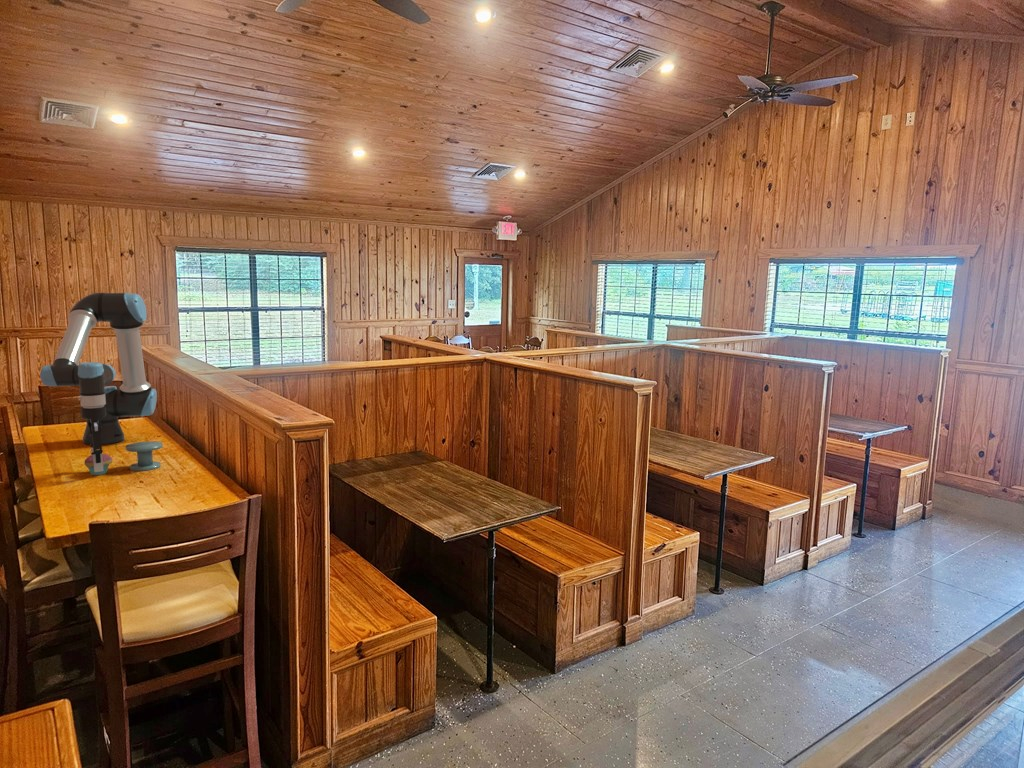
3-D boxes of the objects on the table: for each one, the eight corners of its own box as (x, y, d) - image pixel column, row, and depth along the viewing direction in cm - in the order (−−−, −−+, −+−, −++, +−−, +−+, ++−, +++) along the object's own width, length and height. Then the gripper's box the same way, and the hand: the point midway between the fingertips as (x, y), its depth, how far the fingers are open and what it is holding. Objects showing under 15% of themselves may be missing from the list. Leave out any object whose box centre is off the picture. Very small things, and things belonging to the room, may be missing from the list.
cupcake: (83, 472, 234) (81, 440, 232) (111, 468, 239) (108, 436, 238) (87, 478, 228) (84, 444, 226) (115, 474, 233) (113, 441, 231)
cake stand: (125, 465, 244) (123, 443, 242) (161, 461, 251) (159, 439, 249) (129, 473, 234) (127, 450, 233) (166, 468, 241) (165, 446, 240)
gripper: (78, 402, 236) (83, 463, 239) (82, 412, 219) (87, 477, 222) (103, 400, 240) (107, 460, 244) (108, 410, 224) (113, 474, 227)
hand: (97, 468), depth 233 cm, fingers closed on cupcake, 8 cm apart
